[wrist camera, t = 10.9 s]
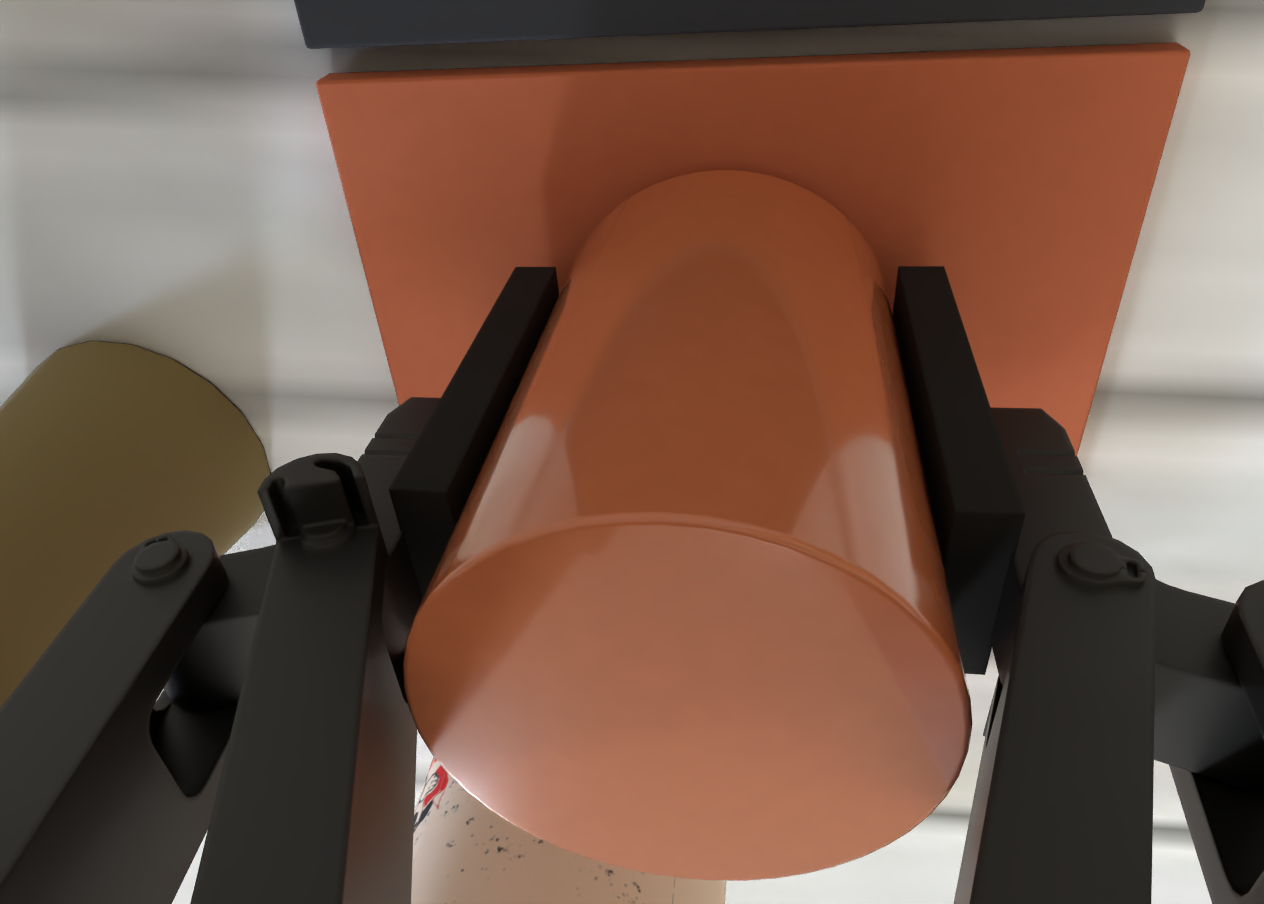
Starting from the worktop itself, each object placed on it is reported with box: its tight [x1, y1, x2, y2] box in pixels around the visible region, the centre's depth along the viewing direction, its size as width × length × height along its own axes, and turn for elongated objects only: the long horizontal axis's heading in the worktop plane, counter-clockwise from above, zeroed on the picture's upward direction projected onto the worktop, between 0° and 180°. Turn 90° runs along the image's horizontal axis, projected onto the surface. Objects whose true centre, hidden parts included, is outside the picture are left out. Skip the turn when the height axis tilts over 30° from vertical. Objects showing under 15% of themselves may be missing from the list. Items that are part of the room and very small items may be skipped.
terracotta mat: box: [316, 43, 1190, 456], centre depth 18 cm, size 14×11×1 cm
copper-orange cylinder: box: [403, 170, 972, 881], centre depth 13 cm, size 6×6×9 cm
